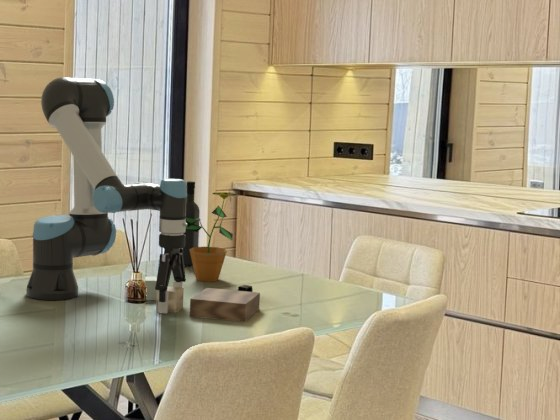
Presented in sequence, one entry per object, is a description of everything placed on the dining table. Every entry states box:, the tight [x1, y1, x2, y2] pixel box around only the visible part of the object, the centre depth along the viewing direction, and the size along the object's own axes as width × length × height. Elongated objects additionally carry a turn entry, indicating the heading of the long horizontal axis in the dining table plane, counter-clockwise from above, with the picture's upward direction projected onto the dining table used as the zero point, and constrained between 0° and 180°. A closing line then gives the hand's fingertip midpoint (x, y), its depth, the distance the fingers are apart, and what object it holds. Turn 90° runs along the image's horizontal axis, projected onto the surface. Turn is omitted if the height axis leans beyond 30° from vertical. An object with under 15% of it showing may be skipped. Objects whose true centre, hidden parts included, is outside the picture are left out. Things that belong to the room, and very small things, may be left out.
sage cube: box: [144, 276, 157, 301], centre depth 289 cm, size 6×6×6 cm
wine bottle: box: [183, 180, 201, 267], centre depth 343 cm, size 6×6×30 cm
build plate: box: [237, 284, 254, 292], centre depth 293 cm, size 12×7×5 cm, turn 151°
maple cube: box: [155, 286, 184, 313], centre depth 275 cm, size 6×6×6 cm
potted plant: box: [186, 192, 237, 282], centre depth 319 cm, size 18×19×30 cm
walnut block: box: [189, 287, 261, 322], centre depth 274 cm, size 16×16×5 cm
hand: (170, 308), depth 276 cm, fingers open, 11 cm apart
